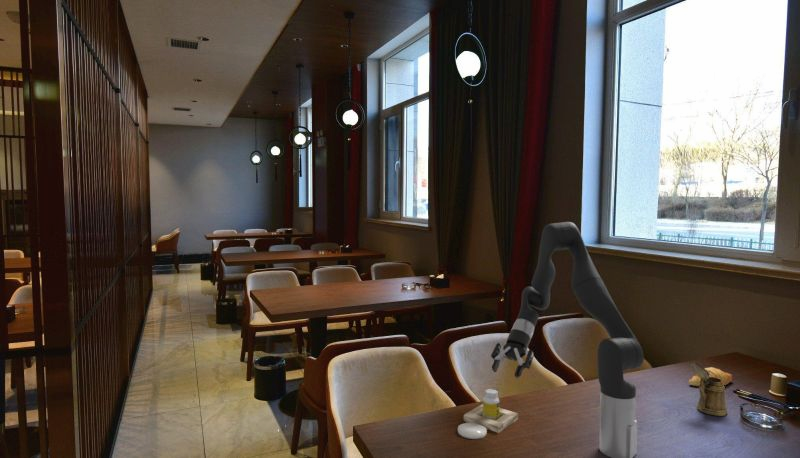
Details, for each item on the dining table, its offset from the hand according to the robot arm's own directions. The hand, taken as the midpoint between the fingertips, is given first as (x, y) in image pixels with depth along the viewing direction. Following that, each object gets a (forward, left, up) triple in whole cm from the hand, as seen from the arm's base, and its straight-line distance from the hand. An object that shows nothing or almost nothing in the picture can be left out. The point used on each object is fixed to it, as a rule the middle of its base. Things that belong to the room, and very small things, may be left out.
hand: (504, 373), depth 166 cm
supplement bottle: (0, +9, -13) cm, 16 cm away
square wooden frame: (0, +9, -13) cm, 16 cm away
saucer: (0, +21, -13) cm, 24 cm away
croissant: (-49, -79, -14) cm, 94 cm away
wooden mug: (-53, -46, -13) cm, 72 cm away
